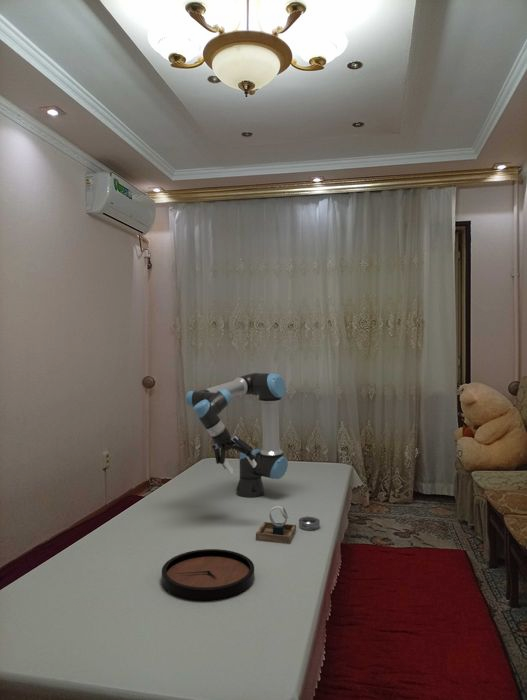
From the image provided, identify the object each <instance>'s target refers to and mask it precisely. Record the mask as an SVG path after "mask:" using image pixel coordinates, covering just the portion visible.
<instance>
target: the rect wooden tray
mask: <svg viewBox="0 0 527 700" xmlns="http://www.w3.org/2000/svg"><path fill="white" fill-rule="evenodd" d="M295 532H297V524H292V523H291V524H289V523H285V524H284V531H283V535H275V534H273V524H272V522H271V521H270V522H269V521H264V522H263V523H262V525H261V526H260V527H259V528H258V529H257V531H256V532H255V541H259V542H261V541H262V542H267V543H268V542H269V543H278V544H286V543H287V544H288V545H289V544H291V542H292V540H293V538H294V536H295V535H296V533H295ZM287 544H286V545H287Z"/></svg>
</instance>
